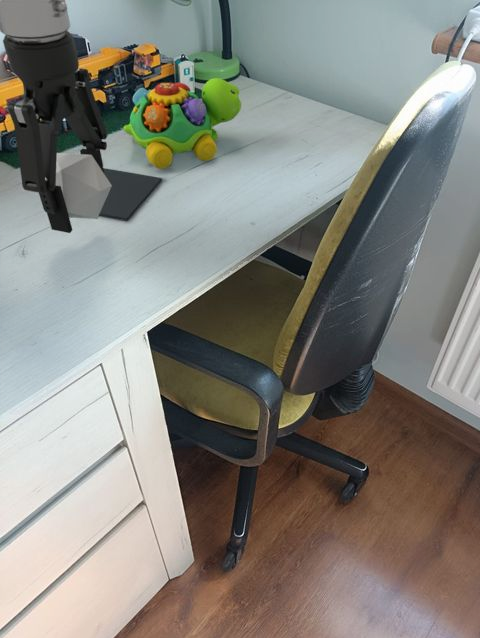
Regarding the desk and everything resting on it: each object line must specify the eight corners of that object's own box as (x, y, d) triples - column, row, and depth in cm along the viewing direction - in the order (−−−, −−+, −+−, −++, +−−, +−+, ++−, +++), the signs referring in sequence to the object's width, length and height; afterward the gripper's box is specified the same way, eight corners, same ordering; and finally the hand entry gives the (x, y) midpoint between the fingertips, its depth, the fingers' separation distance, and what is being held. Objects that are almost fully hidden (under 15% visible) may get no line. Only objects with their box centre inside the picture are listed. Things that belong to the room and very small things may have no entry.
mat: (50, 206, 85) (49, 203, 85) (91, 168, 94) (91, 165, 94) (127, 221, 83) (126, 218, 82) (162, 180, 92) (162, 177, 92)
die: (46, 205, 76) (12, 175, 66) (86, 161, 76) (59, 124, 66) (89, 241, 75) (62, 216, 65) (129, 196, 76) (109, 164, 66)
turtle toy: (257, 154, 100) (258, 90, 92) (140, 176, 93) (130, 109, 84) (223, 121, 111) (222, 61, 102) (117, 138, 103) (105, 75, 95)
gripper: (6, 69, 49) (63, 260, 65) (114, 11, 64) (139, 178, 80) (-62, 59, 50) (11, 249, 67) (60, 5, 65) (95, 170, 81)
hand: (81, 210), depth 73 cm, fingers closed on die, 10 cm apart
